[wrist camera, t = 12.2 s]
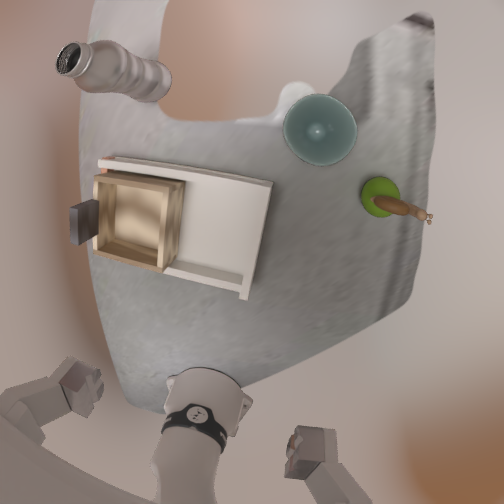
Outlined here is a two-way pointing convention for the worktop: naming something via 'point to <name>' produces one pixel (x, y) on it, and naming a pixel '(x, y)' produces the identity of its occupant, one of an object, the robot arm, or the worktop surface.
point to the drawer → (131, 219)
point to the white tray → (212, 221)
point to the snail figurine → (388, 200)
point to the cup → (320, 130)
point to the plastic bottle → (113, 70)
